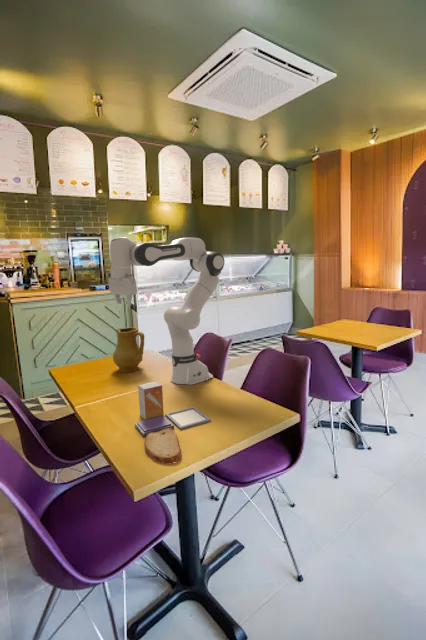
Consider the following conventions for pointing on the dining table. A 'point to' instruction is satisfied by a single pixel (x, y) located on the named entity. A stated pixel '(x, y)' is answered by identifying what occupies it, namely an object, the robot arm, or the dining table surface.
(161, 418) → the ink pad
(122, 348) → the pitcher
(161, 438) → the bread slice
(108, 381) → the dining table surface
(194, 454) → the dining table surface
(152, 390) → the small box
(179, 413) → the print frame
